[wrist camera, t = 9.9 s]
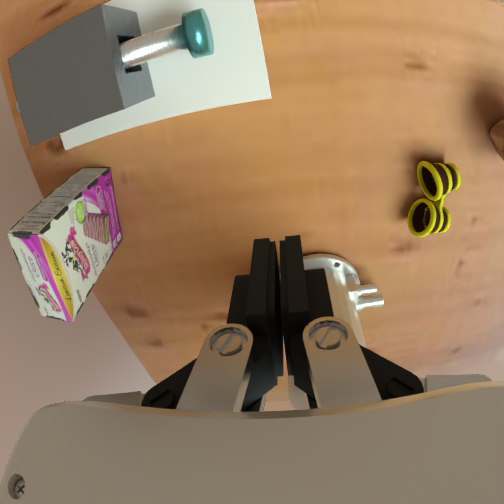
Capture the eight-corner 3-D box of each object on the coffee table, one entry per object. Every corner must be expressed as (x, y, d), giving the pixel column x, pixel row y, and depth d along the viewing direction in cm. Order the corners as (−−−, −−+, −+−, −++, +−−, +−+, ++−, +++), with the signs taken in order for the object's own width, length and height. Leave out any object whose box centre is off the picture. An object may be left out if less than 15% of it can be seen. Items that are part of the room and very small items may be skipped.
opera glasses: (430, 221, 38) (450, 240, 34) (401, 224, 38) (421, 244, 34) (444, 156, 33) (468, 171, 29) (414, 155, 32) (438, 170, 28)
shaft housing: (136, 12, 23) (100, 4, 17) (155, 96, 29) (124, 109, 23) (51, 52, 25) (7, 59, 18) (70, 125, 31) (30, 146, 24)
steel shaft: (207, 11, 22) (196, 4, 19) (216, 54, 25) (207, 54, 21) (31, 83, 26) (5, 91, 22) (40, 117, 28) (15, 128, 24)
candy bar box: (125, 239, 42) (74, 325, 28) (96, 237, 42) (41, 317, 28) (113, 164, 35) (38, 235, 22) (81, 166, 35) (3, 233, 22)
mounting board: (245, -36, 21) (244, -39, 20) (271, 97, 30) (271, 98, 29) (42, 40, 25) (36, 40, 24) (70, 147, 34) (65, 150, 33)
